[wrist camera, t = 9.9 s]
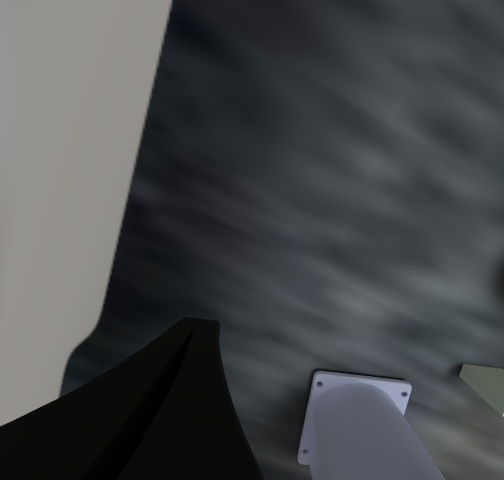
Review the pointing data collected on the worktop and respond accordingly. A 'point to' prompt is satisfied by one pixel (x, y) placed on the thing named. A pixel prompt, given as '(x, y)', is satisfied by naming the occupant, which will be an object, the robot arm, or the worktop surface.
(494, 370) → the pale green rail frame
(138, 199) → the worktop surface
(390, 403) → the robot arm
